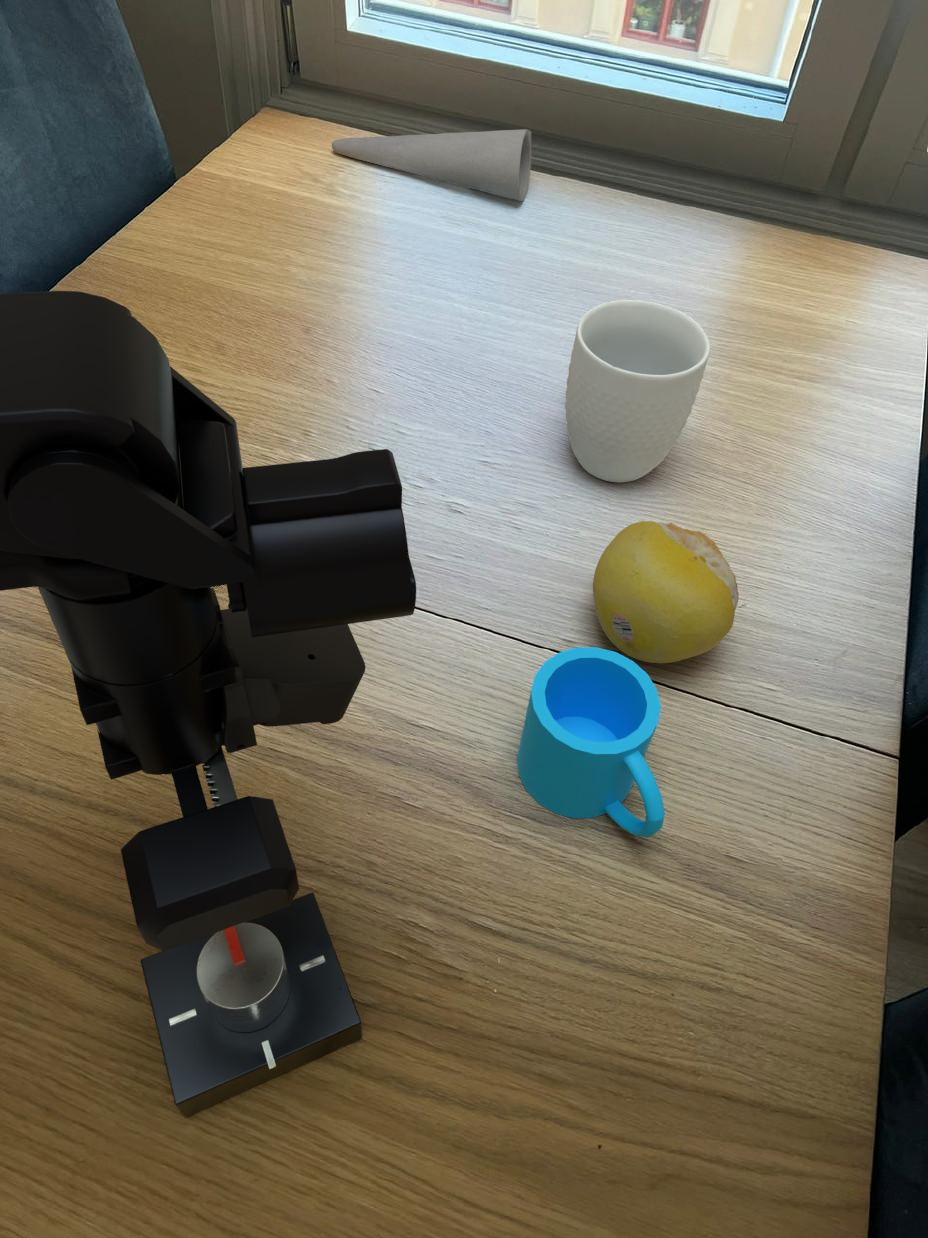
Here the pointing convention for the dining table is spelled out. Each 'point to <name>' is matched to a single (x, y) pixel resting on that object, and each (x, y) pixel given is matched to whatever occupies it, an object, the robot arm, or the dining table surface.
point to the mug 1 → (632, 386)
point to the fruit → (664, 592)
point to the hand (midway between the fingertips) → (200, 817)
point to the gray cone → (453, 158)
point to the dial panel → (237, 1061)
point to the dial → (243, 977)
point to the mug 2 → (591, 738)
